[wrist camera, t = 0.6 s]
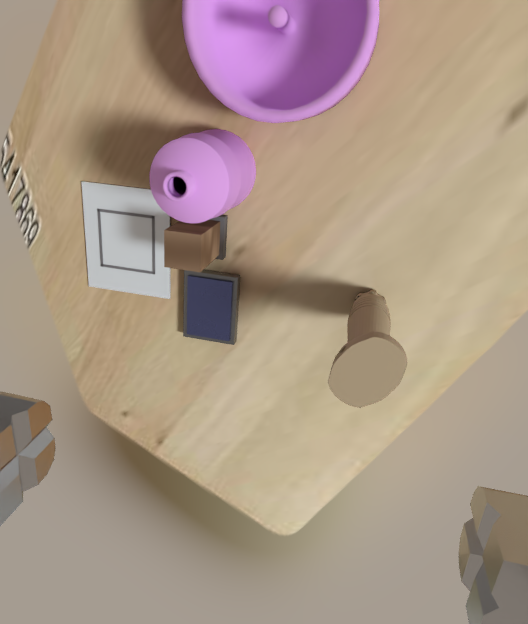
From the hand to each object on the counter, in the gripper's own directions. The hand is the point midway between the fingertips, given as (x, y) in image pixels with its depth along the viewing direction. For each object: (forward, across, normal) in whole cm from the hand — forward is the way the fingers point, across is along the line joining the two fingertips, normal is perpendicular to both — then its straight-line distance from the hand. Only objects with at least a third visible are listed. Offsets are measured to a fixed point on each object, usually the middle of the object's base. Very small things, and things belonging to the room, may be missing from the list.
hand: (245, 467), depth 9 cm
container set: (+42, +9, -8) cm, 44 cm away
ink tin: (+42, +14, +15) cm, 46 cm away
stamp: (+42, +14, +7) cm, 45 cm away
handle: (+42, -4, +12) cm, 44 cm away
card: (+42, +23, +9) cm, 49 cm away
